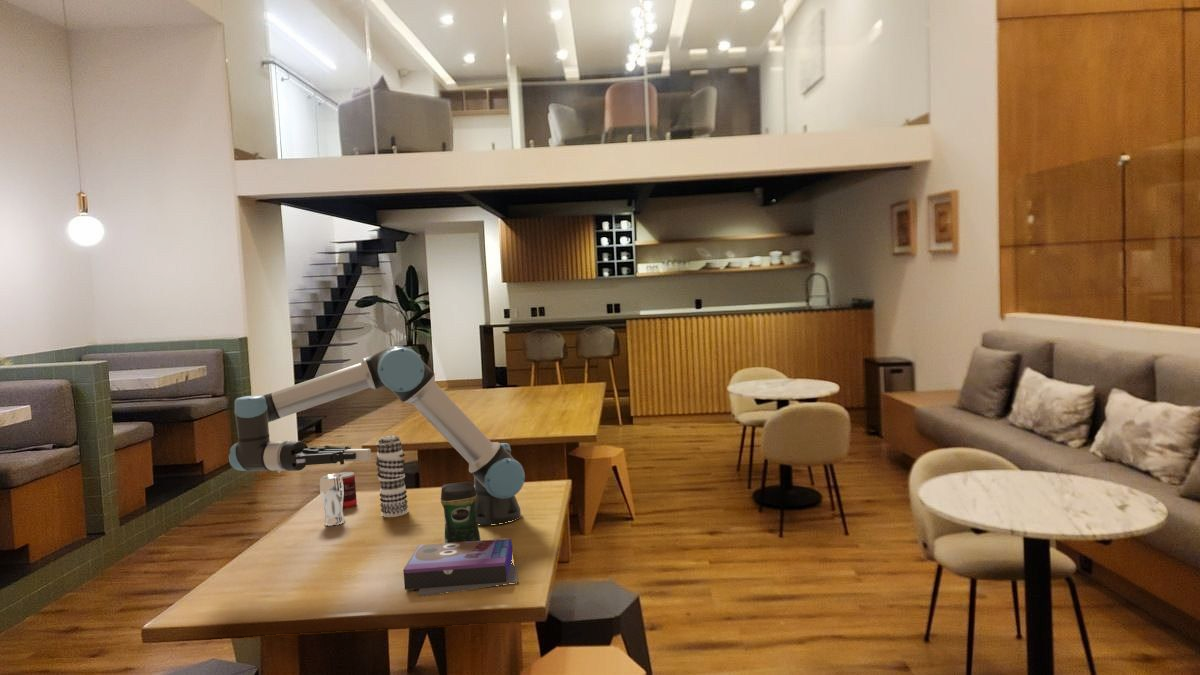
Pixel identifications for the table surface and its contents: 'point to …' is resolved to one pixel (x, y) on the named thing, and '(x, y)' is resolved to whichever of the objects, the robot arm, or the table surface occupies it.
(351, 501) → the canned food
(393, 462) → the decorative candle
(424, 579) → the cereal box
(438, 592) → the flat gray object
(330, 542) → the table surface
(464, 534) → the coffee jar
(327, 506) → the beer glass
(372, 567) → the table surface
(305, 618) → the table surface
